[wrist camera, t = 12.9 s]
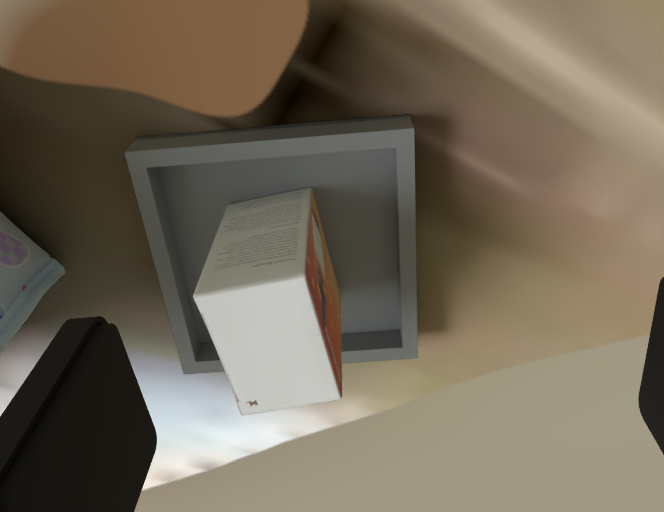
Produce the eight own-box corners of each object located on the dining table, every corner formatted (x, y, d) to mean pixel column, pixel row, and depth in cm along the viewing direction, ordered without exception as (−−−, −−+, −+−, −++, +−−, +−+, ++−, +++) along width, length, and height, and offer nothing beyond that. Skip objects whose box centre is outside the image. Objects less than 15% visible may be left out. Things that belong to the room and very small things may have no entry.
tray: (408, 114, 35) (414, 128, 32) (413, 334, 43) (417, 358, 40) (137, 137, 35) (124, 152, 33) (191, 350, 43) (184, 374, 41)
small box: (341, 291, 40) (344, 403, 31) (260, 307, 41) (241, 421, 31) (313, 183, 36) (308, 274, 27) (224, 201, 37) (190, 297, 28)
